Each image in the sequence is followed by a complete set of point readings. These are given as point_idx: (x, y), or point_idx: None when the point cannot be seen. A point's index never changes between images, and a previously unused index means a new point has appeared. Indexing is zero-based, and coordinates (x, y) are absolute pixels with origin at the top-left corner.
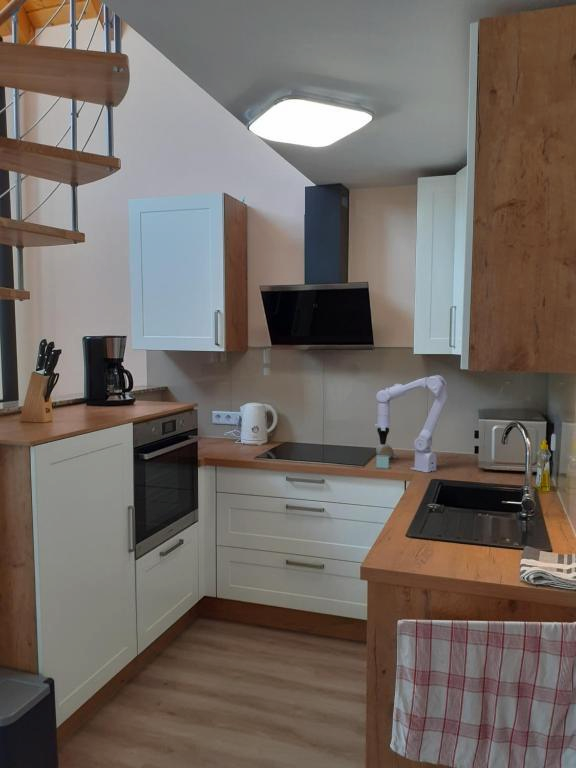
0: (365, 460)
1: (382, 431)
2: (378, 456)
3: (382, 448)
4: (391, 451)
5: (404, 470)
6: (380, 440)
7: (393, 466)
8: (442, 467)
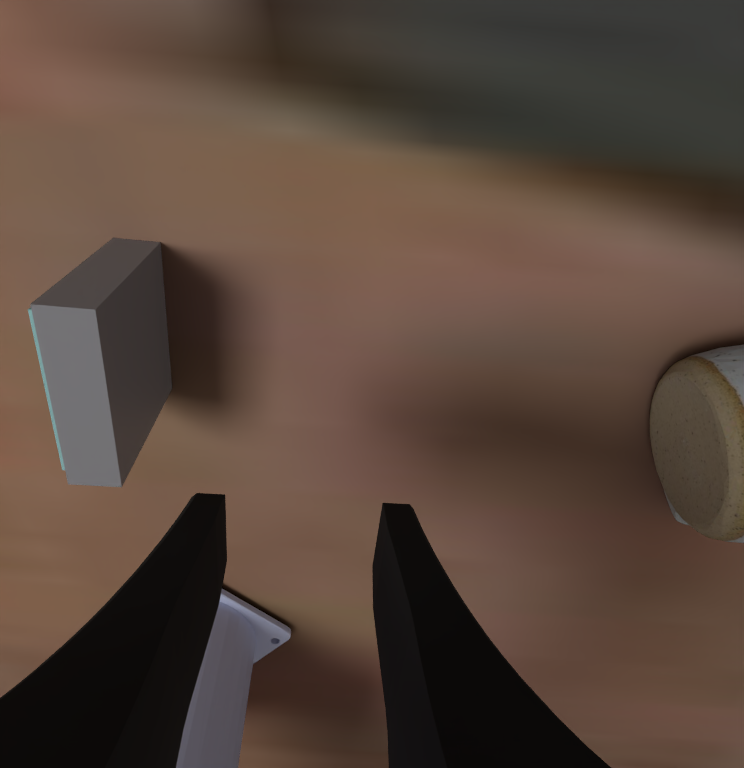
0: (646, 128)
1: None
2: (39, 338)
3: (737, 438)
4: (682, 510)
5: (111, 513)
6: (151, 557)
7: (284, 439)
8: (317, 728)
